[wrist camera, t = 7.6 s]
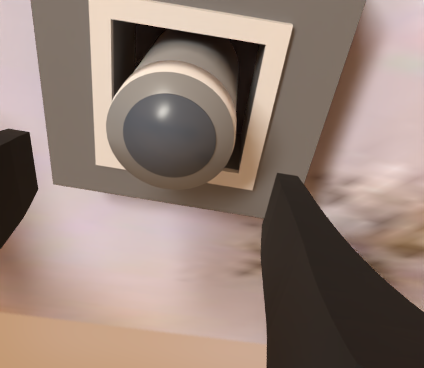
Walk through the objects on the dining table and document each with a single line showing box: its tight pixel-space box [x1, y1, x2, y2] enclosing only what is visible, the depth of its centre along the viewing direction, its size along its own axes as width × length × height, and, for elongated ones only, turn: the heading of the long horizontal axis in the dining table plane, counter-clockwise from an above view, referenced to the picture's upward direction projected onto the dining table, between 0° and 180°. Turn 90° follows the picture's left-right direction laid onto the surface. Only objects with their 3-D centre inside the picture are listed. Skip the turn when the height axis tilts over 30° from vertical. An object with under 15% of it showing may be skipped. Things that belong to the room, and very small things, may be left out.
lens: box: [106, 29, 239, 190], centre depth 16 cm, size 4×4×7 cm
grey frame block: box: [31, 0, 366, 218], centre depth 18 cm, size 12×11×4 cm
